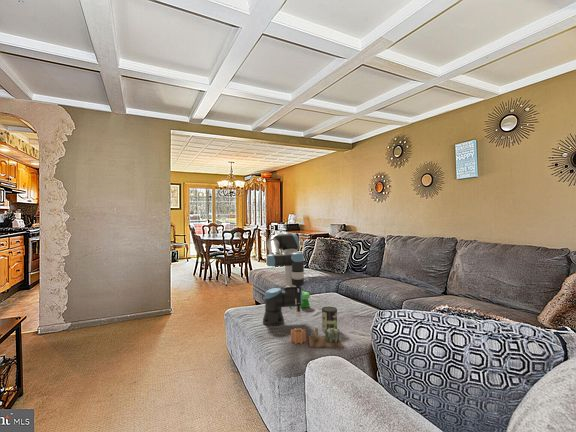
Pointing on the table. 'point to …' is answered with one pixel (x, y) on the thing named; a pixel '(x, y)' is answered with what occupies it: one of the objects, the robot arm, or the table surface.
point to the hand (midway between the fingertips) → (298, 312)
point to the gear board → (326, 339)
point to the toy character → (305, 299)
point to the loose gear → (298, 335)
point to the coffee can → (329, 318)
